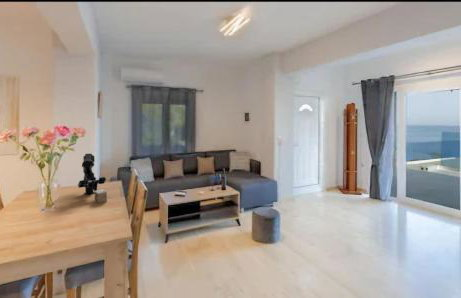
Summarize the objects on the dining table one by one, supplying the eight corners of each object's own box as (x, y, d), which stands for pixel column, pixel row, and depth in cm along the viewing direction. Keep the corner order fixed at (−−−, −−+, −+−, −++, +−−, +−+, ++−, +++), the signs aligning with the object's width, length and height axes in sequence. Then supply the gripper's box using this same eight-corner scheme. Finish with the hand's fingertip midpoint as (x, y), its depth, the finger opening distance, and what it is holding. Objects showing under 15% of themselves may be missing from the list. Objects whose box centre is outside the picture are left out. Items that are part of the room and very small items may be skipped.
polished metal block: (94, 201, 192) (94, 191, 191) (103, 200, 197) (102, 189, 196) (98, 203, 188) (98, 192, 187) (107, 201, 193) (106, 191, 192)
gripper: (98, 178, 213) (105, 194, 208) (73, 182, 199) (80, 199, 193) (102, 170, 207) (109, 186, 202) (77, 174, 193) (84, 191, 187)
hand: (96, 191), depth 196 cm, fingers closed
